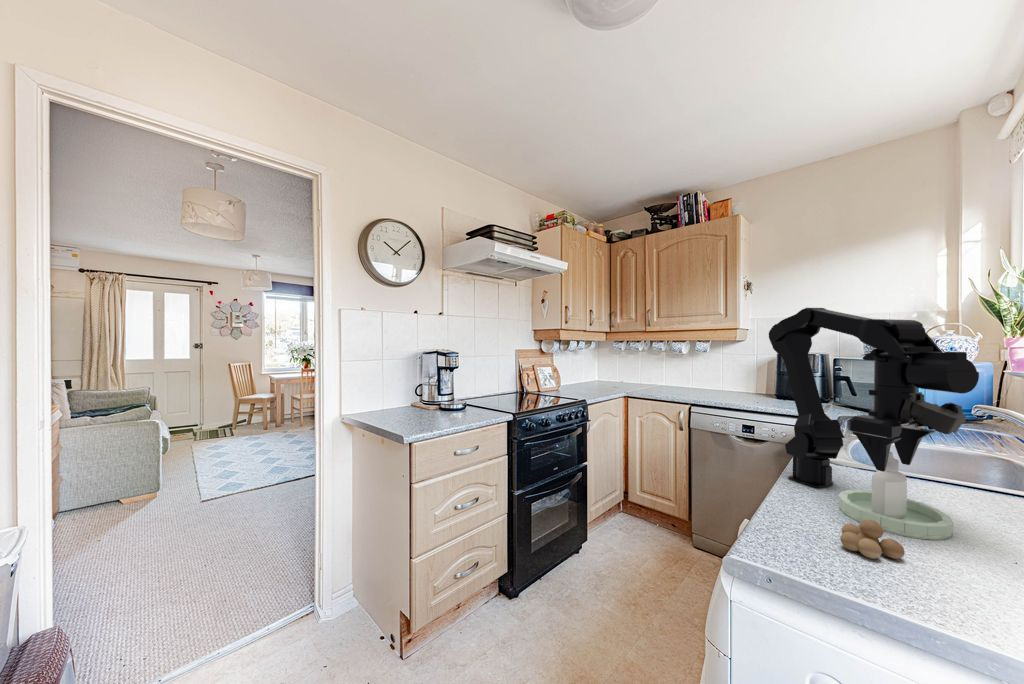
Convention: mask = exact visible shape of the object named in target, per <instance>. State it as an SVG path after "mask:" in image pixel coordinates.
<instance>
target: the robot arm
mask: <svg viewBox="0 0 1024 684" xmlns="http://www.w3.org/2000/svg"><path fill="white" fill-rule="evenodd" d="M821 328H822V329H827V330H830V331H834V332H837V333H838V332H839V333H841V334H845V335H848V336H853V337H855V338H857V339H858V340H859V341H860V342H861V343H863V344H865V345H867V346H869V347H871V348H873V349H872V350H871V351H870V352H869V353H867V354H865V355H864V356H862V360H864V361H872V362H874V365H873V366H874V367H873V369H874V370H873V371H874V373H873V375H874V377H873V382H874V383H873V388H872V389H868V395H869V396H873V409H871V410H868V414H860V415H854V416H852V417H851V418H850V419H848V420H847V421H848V427H847V429H848V431H850V432H852V434H853V435H855V436H856V438H857V440H858V441H859V442H860V444H861V445H862V447H863V449H864V450H865V452H866V454H867V455H868V457H869V459H870V461H871V462H872V464H873V466H874V468H875V470H876V471H878V470H879V471H883V472H884V471H885V470H886V466H887V462H888V457H889V452H891V446H892V445H893V444H894V447H895V449H896V452H897V455H898V458H899V460H900V462H901V464H902V465H906V466H910V465H911V464H912V461H913V459H914V457H915V455H916V453H917V450H918V448H919V446H920V443H921V441H922V440H923V438H925V437H927V436H929V435H931V434H934V433H935V432H938V433H941V434H944V435H950V434H952V433H954V434H955V433H958V431H959V429H960V428H961V426H962V424H965V423H966V422H967V420H966V419H967V415H966V414H964V412H963V406H962V405H959V404H956V403H954V402H945V403H944V404H942V405H939V404H937V403H931V402H928V401H925V395H924V394H923V392H922V391H918V389H921V390H929V391H939V392H946V393H954V394H967V393H969V392H971V391H973V390H974V389H975V388H976V386H977V385H978V382H979V379H980V373H979V371H978V369H977V368H976V366H975V364H974V363H973V362H972V361H971V360H969V359H968V352H966V351H944V352H943V351H942V349H941V348H940V347H939V346H938V345H937V344H936V343H935V341H933V339H932V338H931V336H929V334H928V333H927V332H926V329H925V328H924V324H923V323H922V322H920V321H919V320H915V319H892V318H891V319H889V318H888V319H887V318H886V319H885V318H882V319H881V318H879V319H878V318H870V317H864V316H859V315H856V314H855V315H853V314H849V313H844V312H839V311H834V310H829V309H826V308H825V307H805V308H803V309H800V310H799V311H798V312H796V313H795V314H792V315H791V316H788V317H786V318H783V319H782V320H780V321H778V323H775V324H773V325H772V327H771V328H770V330H769V331H768V339H769V342H770V344H771V346H772V349H773V350H774V351H775V352H776V353H777V354H778V355H779V356H780V357H781V358H782V359H783V362H784V365H785V370H786V373H787V378H788V381H789V384H790V388H791V391H792V396H793V400H794V403H795V407H796V410H797V413H798V414H797V415H798V416H797V419H796V421H795V424H794V427H793V431H794V436H793V437H792V438H791V439H790V440H788V441H787V442H786V443H784V444H785V445H784V446H785V451H786V452H785V453H786V454H788V455H790V456H792V475H788V479H789V480H792V481H795V482H797V483H799V484H804V485H806V486H810V487H813V488H815V489H820V488H824V487H828V486H829V487H830V486H832V485H834V481H833V467H832V465H831V459H833V460H835V459H837V458H838V455H839V452H840V451H841V449H842V447H844V439H845V438H846V437H845V435H844V434H843V432H842V429H841V422H840V421H839V420H838V419H831V418H830V417H829V416H828V415H827V414H826V413H825V410H824V407H823V403H822V400H821V396H820V393H819V390H818V386H817V383H816V380H815V376H814V373H813V370H812V366H811V363H810V358H809V353H810V351H811V349H812V345H813V341H812V338H813V337H814V336H816V335H817V334H819V332H820V330H821ZM926 427H927V428H926Z"/></svg>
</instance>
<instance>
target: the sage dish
mask: <svg viewBox="0 0 1024 684" xmlns="http://www.w3.org/2000/svg"><path fill="white" fill-rule="evenodd" d="M838 505H839V510H840V511H841V512H842V513H843V514H844V515H846V516H847V517H849V518H851V519H852V520H855V521H856V522H859V523H861V522H862V521H864V520H873V521H875V522H877V523H878V524H879V525H880V526H881V527H882V529H883V532H886V533H889V532H890V533H889V534H893V535H897V536H902V537H906V538H912V539H917V538H918V539H919V540H925V539H929V541H944V540H943V539H945V540H948V539H950V538H951V537H952V536H953V533H954V521H953V519H952V517H951V516H950V515H949V514H947V513H945V512H943V511H942V510H940V509H938V508H935V507H933V506H930V505H928V504H926V503H924V502H921V501H917V500H913V499H910V498H907V513H906V516H904V517H902V518H892V517H888V516H884V515H881V514H878V513H875V512H872V490H863V489H849V490H848V489H846V490H844V491H841V492H839V496H838Z"/></svg>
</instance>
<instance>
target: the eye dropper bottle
mask: <svg viewBox="0 0 1024 684" xmlns="http://www.w3.org/2000/svg"><path fill="white" fill-rule="evenodd" d="M899 465H900V461H899V460H898V459H896V458H895V456H894V453H893V451H890V452H889V457H888V462H887V466H886V470H885V471H884V472H883V471H879V470H876V471H875V472H874V473H872V478H871V491H872V512H875V513H878V514H881V515H884V516H888V517H892V518H902V517H904V516H906V513H907V499H908V495H907V493H908V481H907V476H906V475H905V474H904V473H902V472H900V471H899V467H900V466H899Z"/></svg>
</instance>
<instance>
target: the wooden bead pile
mask: <svg viewBox="0 0 1024 684" xmlns="http://www.w3.org/2000/svg"><path fill="white" fill-rule="evenodd" d="M841 533H842V534H841V535H840V538H839V539H840V542H841V544H842V546H843V547H844V548H846V549H847V550H849V551H853V552H860V554H861V555H863V556H864V557H866V558H868V559H872V560H873V559H875V560H876V559H878V558H880V557H881V556H882V554H883V555H884V556H886V557H888V558H890V559H893V560H899V559H902V558H903V557H904V556H905V548H904V546H903V545H902V544H901V543H900V542H898V541H897V540H895V539H892V538H884V539H883V538H882V537H884V531H883V529H882V527H881V526H880V525H879V524H878V523H877V522H875V521H873V520H864V521H862V522H859V526H858V525H857V524H854V523H846V524H845V523H844V525H843V526H842V527H841ZM880 538H882V539H881V540H879V539H880Z"/></svg>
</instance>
